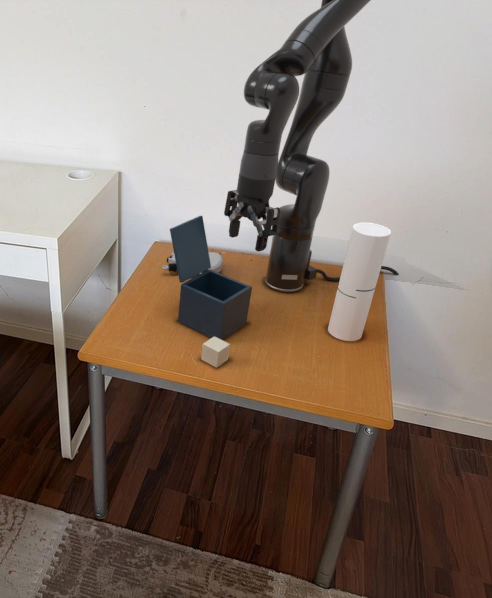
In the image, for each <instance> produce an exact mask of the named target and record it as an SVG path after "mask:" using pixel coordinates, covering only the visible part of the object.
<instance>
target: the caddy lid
mask: <svg viewBox="0 0 492 598" xmlns="http://www.w3.org/2000/svg"><path fill="white" fill-rule="evenodd" d="M169 233H170V239H171V243H172V248H173V252H174V255H175V260H176V265H177V271H176V272H177V275H178V280H179V283H180V284H183V283H185V282H187V281H189V280H190V279H192V278H194V277H196V275H198V274H200V273H201V272H203V271H205V270H207V269H209V268H211V264H210V258H209V252H210V251H209V247H208V240H207V235H206V229H205V224H204V217H203V215H198V216H196V217H193V218H192V219H189V220H187V221H185V222H182V223H180V224H178V225H175V226H173V227H170V228H169Z"/></svg>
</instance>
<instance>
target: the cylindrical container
mask: <svg viewBox="0 0 492 598" xmlns="http://www.w3.org/2000/svg"><path fill="white" fill-rule="evenodd" d="M391 234H392V231H391V228H389V227H387V226H385V225H382V224H380V223H376V222H369V221H368V222H367V221H365V222H364V221H363V222H362V221H361V222H356V223H354V224H353V225H352V228H351V231H350V236H349V241H348V244H347V248H346V251H345V252H346V253H345V257H344V261H343V265H342V269H341V273H340V276H339V277H340V281H338V284H337V285H338V286H337V290H336V294H335V298H334V301H333V306H332V309H331V314H330V318H329V323H328V326H327V332H328V333H329V334H330V335H331V336H332V337H333V338H336V339H338V340H341V341H345V342H356V341H359V340H360V339H361V338H362V336H363V333H364V330H365V326H366V322H367V319H368V316H369V312H370V308H371V304H372V302H373V298H374V295H375V291H376V287H377V285H378V284H377V283H378V280H379V276H380V273H381V270H382V269H381V266H383V262H384V259H385V255H386V253H387V252H386V251H387V248H388V244H389V242H390V237H391Z"/></svg>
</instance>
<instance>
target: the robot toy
mask: <svg viewBox="0 0 492 598" xmlns="http://www.w3.org/2000/svg"><path fill="white" fill-rule="evenodd" d="M208 252H209V258H210V264H211V268H209V269H210V270H213V271H215V272H218V273H220V272H221V271H222V270H223V263H224V262H223V261H224V257H223V256H222V255H225V254H226V252H225V251H222V252H215V251H208ZM166 263H167V264H168V265H165V264H164V265H162V270H163V271H169V272H178V271H177V265H176V260H175V255H174V251H172V252H171V254H169V256H167V258H166ZM209 269H207V270H209ZM207 270H205V271H207ZM205 271H203V272H201V273H200V274H202V273H204V272H205ZM200 274H198V275H200ZM198 275H196V276H198ZM196 276H195V277H196Z"/></svg>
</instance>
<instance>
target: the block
mask: <svg viewBox="0 0 492 598" xmlns="http://www.w3.org/2000/svg"><path fill="white" fill-rule="evenodd" d="M201 347H202V348H201V354H200V355H201V357H200V360H202V361H203V362H205V363H206V364H209V365H211V366H213V367H215V368H216V369H217V368H218V367H220V366H222V365H223V364H224V363H226V362H227V361H228V360H229V355H230V348H231V343H229V342H227V341H225V340H224V339H223V340H221V339H219V338H217V337H215V336H214V337H212V338H209V339H208V340H206V341H205V342H204V343H202V346H201Z"/></svg>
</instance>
